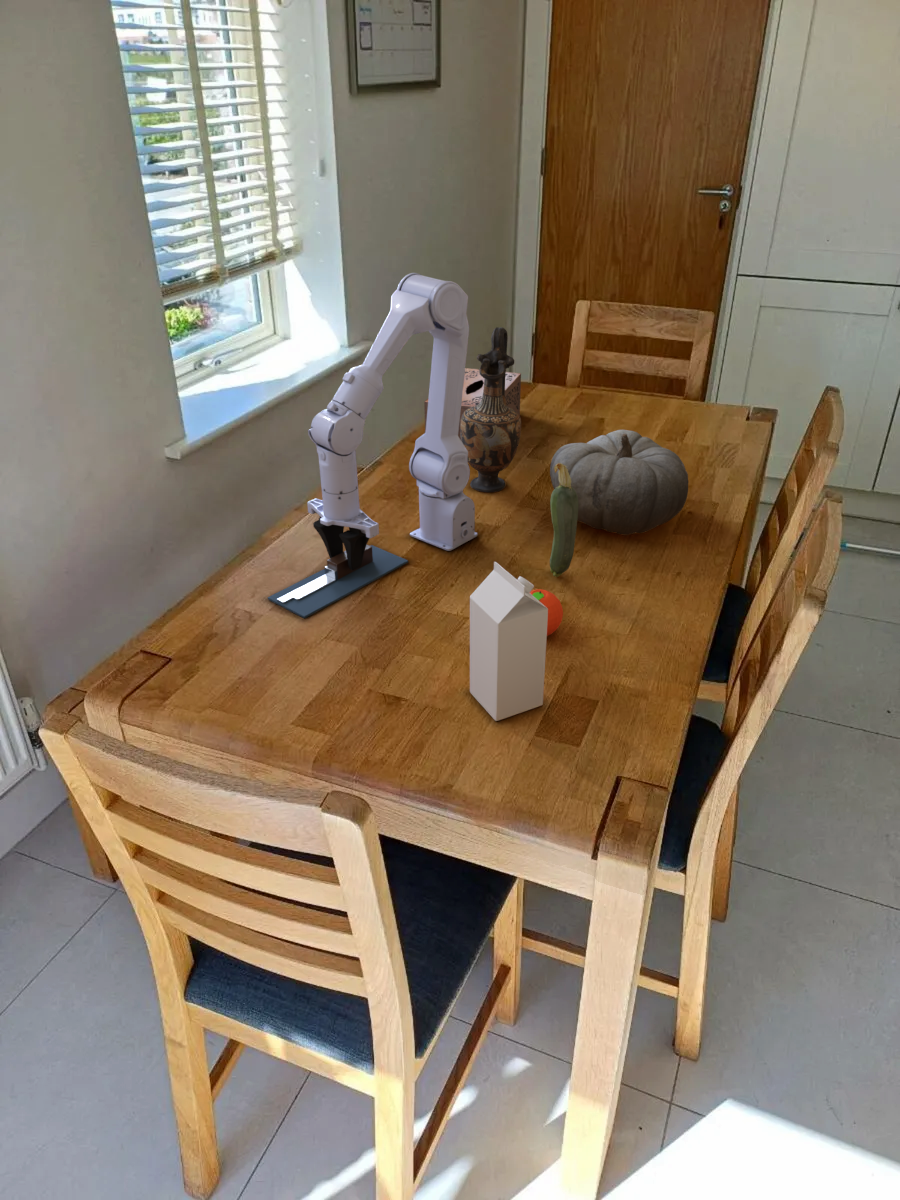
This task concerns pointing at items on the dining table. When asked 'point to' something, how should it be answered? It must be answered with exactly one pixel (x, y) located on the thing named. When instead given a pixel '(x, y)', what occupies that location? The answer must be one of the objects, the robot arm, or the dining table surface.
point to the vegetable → (563, 521)
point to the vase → (491, 420)
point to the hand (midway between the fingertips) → (346, 563)
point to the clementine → (550, 608)
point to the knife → (328, 575)
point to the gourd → (623, 481)
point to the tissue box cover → (475, 392)
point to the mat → (339, 584)
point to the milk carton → (507, 645)
